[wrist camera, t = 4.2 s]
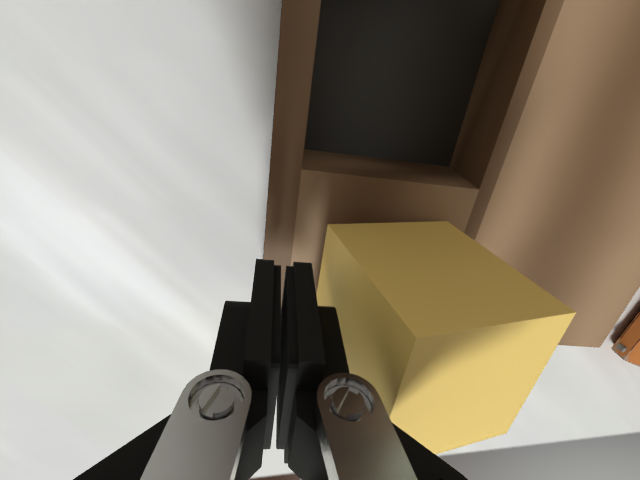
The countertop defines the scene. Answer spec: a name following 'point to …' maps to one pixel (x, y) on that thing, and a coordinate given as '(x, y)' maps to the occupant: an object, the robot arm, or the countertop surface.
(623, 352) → the toy gun
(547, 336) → the block
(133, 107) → the countertop surface
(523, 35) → the wooden tray
